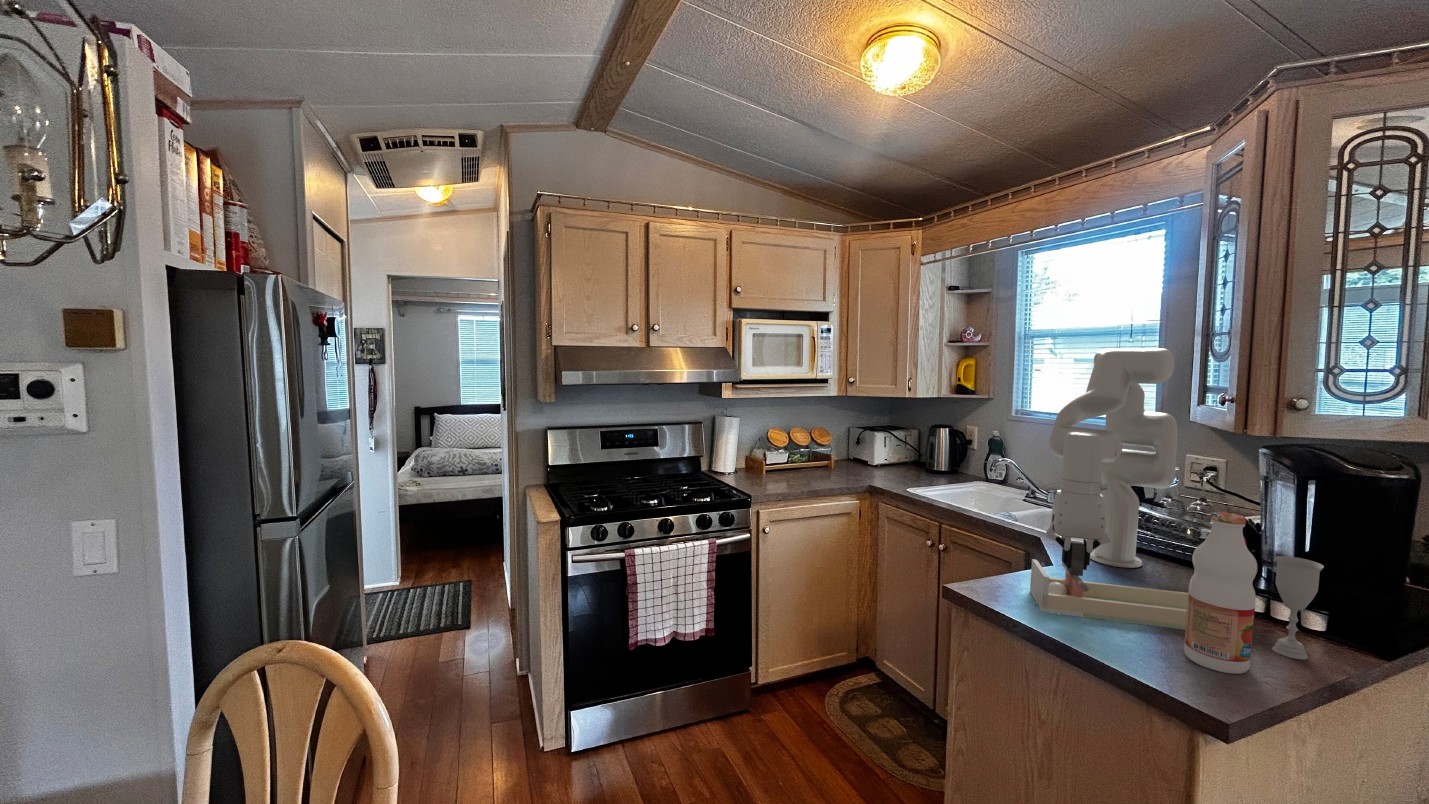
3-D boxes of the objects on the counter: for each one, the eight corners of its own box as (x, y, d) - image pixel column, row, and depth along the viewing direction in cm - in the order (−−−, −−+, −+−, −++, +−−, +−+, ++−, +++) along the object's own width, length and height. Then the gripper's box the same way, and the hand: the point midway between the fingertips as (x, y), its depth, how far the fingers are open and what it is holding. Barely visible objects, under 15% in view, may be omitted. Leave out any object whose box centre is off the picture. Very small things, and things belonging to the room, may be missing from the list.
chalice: (1267, 640, 120) (1275, 553, 119) (1314, 652, 115) (1323, 562, 114) (1264, 652, 115) (1273, 561, 113) (1314, 666, 110) (1324, 571, 109)
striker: (1057, 586, 143) (1061, 532, 142) (1068, 587, 142) (1072, 533, 141) (1077, 613, 128) (1081, 553, 127) (1090, 614, 127) (1094, 554, 126)
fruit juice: (1175, 645, 117) (1187, 506, 115) (1235, 655, 114) (1248, 511, 111) (1194, 668, 108) (1207, 518, 106) (1259, 679, 105) (1274, 524, 103)
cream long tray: (1030, 591, 143) (1032, 559, 142) (1187, 610, 134) (1189, 575, 133) (1042, 611, 132) (1044, 576, 131) (1214, 633, 123) (1217, 595, 122)
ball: (1067, 592, 137) (1050, 598, 138) (1058, 576, 138) (1041, 583, 139) (1072, 598, 133) (1054, 605, 134) (1063, 582, 134) (1045, 589, 135)
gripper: (1115, 486, 134) (1110, 565, 136) (1036, 481, 139) (1031, 557, 140) (1128, 493, 127) (1122, 577, 129) (1044, 487, 132) (1039, 568, 133)
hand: (1075, 566), depth 135 cm, fingers closed on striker, 2 cm apart
